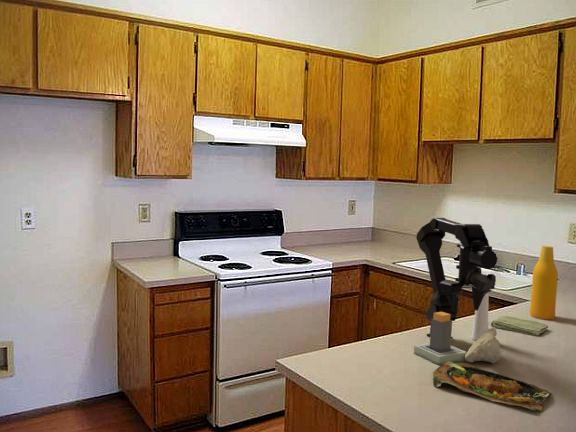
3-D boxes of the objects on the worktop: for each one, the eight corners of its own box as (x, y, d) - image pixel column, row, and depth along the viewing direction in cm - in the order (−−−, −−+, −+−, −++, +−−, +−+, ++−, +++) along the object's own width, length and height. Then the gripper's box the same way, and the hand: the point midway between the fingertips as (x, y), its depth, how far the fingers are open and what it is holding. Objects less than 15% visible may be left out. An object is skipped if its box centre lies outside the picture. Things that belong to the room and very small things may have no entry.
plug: (429, 353, 165) (431, 312, 164) (438, 351, 168) (441, 311, 167) (440, 357, 162) (442, 316, 161) (450, 355, 164) (452, 314, 163)
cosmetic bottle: (493, 341, 182) (497, 278, 180) (478, 342, 180) (482, 278, 178) (482, 336, 188) (485, 274, 186) (467, 337, 186) (471, 275, 184)
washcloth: (539, 338, 188) (540, 329, 188) (489, 328, 199) (489, 319, 199) (548, 330, 199) (549, 322, 198) (500, 321, 210) (500, 313, 209)
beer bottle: (559, 320, 212) (564, 248, 209) (535, 319, 212) (540, 247, 209) (548, 314, 221) (553, 245, 218) (525, 313, 221) (530, 244, 219)
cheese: (487, 378, 154) (523, 344, 156) (469, 358, 155) (505, 324, 157) (469, 374, 169) (502, 343, 171) (453, 356, 170) (486, 325, 172)
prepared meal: (553, 379, 140) (540, 400, 126) (553, 392, 140) (539, 415, 126) (449, 358, 157) (426, 375, 142) (448, 370, 157) (426, 388, 142)
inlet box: (414, 353, 167) (414, 345, 167) (440, 348, 172) (440, 341, 172) (438, 365, 157) (439, 356, 157) (465, 360, 162) (466, 351, 162)
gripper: (466, 269, 157) (463, 321, 158) (510, 266, 165) (506, 315, 167) (439, 263, 167) (436, 311, 168) (482, 260, 175) (479, 306, 177)
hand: (465, 311), depth 170 cm, fingers open, 9 cm apart
